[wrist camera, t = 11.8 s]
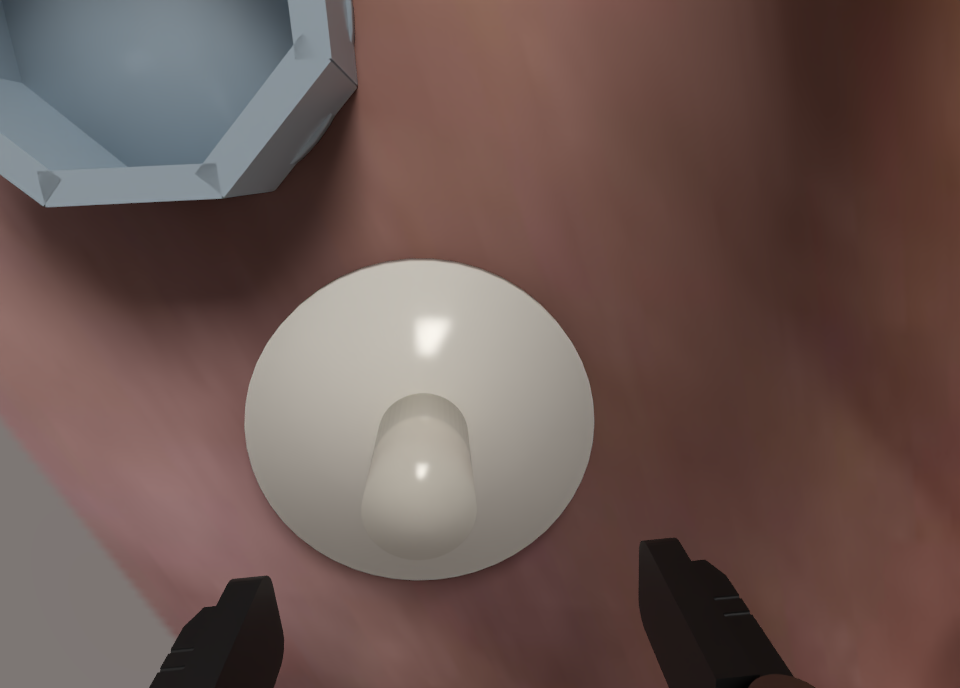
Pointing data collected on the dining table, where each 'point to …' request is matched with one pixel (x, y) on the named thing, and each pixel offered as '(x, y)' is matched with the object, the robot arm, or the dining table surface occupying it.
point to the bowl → (167, 95)
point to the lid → (419, 419)
